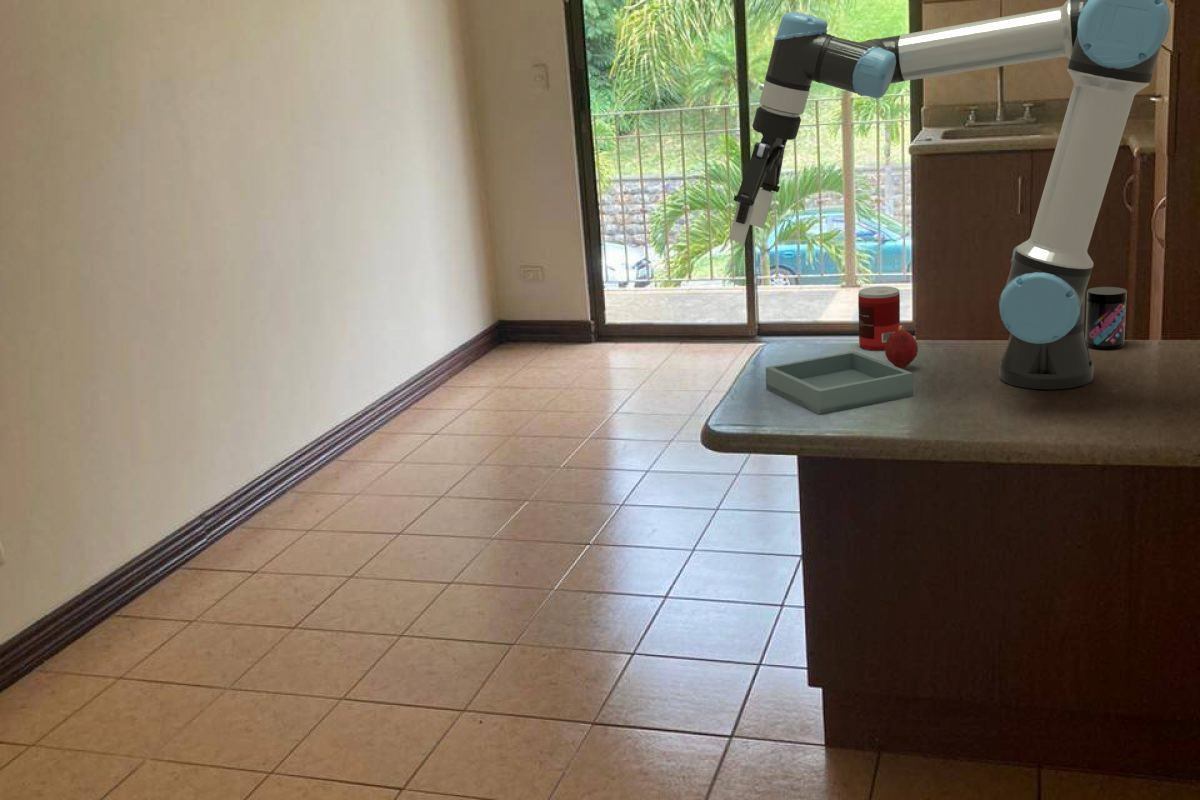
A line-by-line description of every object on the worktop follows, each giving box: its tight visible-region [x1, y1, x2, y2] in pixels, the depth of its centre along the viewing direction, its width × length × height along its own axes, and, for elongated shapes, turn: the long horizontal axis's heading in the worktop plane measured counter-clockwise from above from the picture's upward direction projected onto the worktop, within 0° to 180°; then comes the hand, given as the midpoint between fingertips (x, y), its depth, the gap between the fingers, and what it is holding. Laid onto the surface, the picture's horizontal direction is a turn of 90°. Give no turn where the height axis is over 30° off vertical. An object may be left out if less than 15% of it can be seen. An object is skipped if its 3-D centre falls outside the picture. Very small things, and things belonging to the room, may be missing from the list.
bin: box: [765, 350, 914, 416], centre depth 208 cm, size 18×18×4 cm
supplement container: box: [1084, 286, 1128, 351], centre depth 222 cm, size 7×7×10 cm
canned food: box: [857, 285, 901, 352], centre depth 234 cm, size 8×8×11 cm
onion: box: [884, 324, 919, 370], centre depth 218 cm, size 6×6×8 cm
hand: (746, 233), depth 207 cm, fingers open, 13 cm apart
